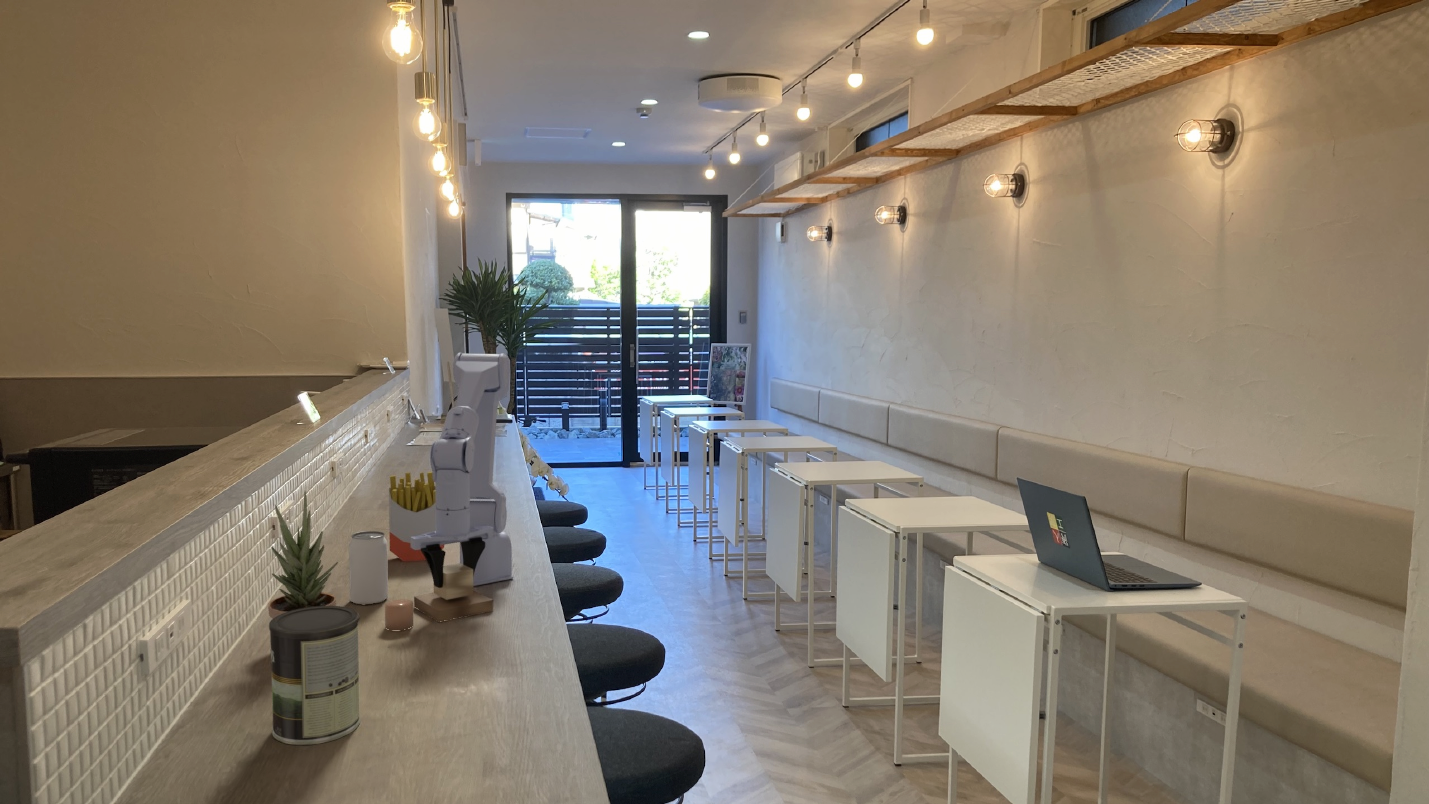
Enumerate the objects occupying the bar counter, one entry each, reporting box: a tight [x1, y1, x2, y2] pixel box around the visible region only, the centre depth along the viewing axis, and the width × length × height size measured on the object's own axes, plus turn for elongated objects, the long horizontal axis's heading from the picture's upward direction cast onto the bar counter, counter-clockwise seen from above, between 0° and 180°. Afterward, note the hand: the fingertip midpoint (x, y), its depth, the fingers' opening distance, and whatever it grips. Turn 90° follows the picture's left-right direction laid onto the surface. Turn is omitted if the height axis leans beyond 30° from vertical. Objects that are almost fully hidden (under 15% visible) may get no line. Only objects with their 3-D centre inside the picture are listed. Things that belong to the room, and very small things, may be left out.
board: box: [413, 589, 494, 623], centre depth 165 cm, size 10×10×2 cm
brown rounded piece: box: [384, 598, 414, 631], centre depth 156 cm, size 4×4×4 cm
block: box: [433, 562, 474, 600], centre depth 165 cm, size 5×5×4 cm
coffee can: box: [268, 605, 361, 746], centre depth 118 cm, size 10×10×14 cm
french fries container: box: [388, 471, 445, 562], centre depth 198 cm, size 5×11×18 cm, turn 108°
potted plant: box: [267, 490, 339, 620], centre depth 145 cm, size 10×10×25 cm
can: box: [348, 530, 389, 605], centre depth 169 cm, size 6×6×12 cm
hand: (453, 583), depth 165 cm, fingers closed on block, 5 cm apart
